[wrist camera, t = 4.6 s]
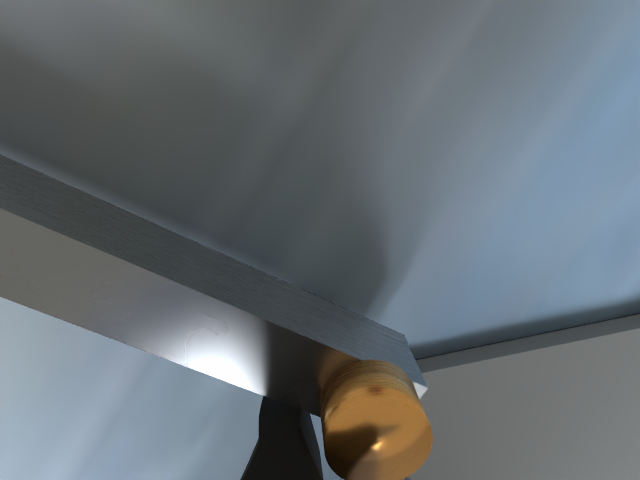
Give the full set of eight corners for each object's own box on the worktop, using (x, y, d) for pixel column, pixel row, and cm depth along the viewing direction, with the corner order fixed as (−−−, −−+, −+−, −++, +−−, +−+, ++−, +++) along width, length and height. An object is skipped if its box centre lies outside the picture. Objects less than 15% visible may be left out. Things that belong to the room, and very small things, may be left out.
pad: (639, 503, 16) (652, 519, 15) (418, 549, 16) (423, 566, 15) (659, 309, 13) (676, 320, 12) (389, 365, 13) (393, 378, 12)
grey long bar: (421, 309, 11) (472, 399, 8) (356, 405, 12) (380, 518, 9) (-361, -56, 7) (-813, -147, 4) (-370, 120, 8) (-749, 148, 5)
